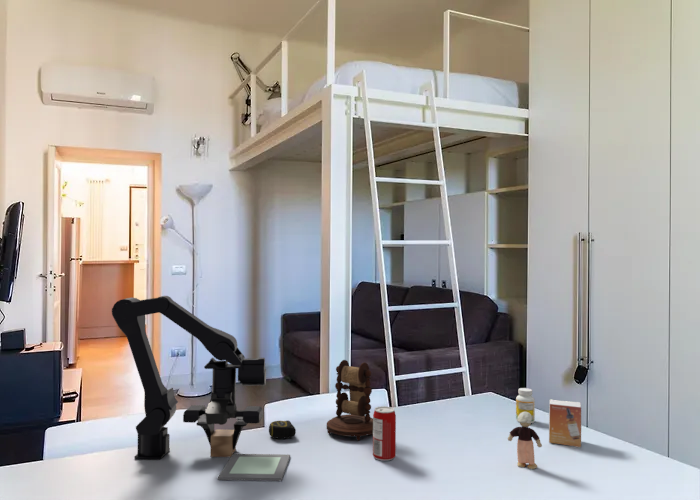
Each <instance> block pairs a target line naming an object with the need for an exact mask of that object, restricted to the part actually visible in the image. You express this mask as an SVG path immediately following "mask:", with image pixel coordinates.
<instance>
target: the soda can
mask: <svg viewBox="0 0 700 500" xmlns="http://www.w3.org/2000/svg"><path fill="white" fill-rule="evenodd" d="M372 418H373V434H372V456H373V457H374V458H375V459H376V460H377V461H381V462H384V461H385V462H388V461H391V460H393V459H394V458H395V457H396V454H397V453H396V452H397V451H396V447H397V446H396V445H397V442H396V441H397V440H396V439H397V437H396V436H397V435H396V433H397V432H396V431H397V427H396V426H397V425H396V424H397V416H396V411H395V408H394V407H392V406H377V407H374V411H373V413H372Z"/></svg>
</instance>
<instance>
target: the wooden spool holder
mask: <svg viewBox="0 0 700 500" xmlns="http://www.w3.org/2000/svg"><path fill="white" fill-rule="evenodd" d="M335 371H336V372H337V373H336V375H337V377H336V383H335V384H334V387H335V390H336V391H337V393H336V398H337V399H335V404H336V411H335V414H336V416H335V417H332V418H331V419H329V420H327V422H326V430H327V434H328V433H329V434H328V435H331V434H334V435H338V436H343V437H344V436H345V437H355V439H356V440H357V442H359V441H360V440H361V437H363V436H369V435H373V417H371V415H370V413H371V411H370V410H371V409H372V405H371V404H370V403H371V397H370V396H371V394H372V392H373V389H372V387H371V386H372V384H371V376H372V371H371V370H370V367H369V365H368V363H367V362H365V361H364V362H362V363H361V364H360V365H359V367H358V366H351V365H350V364H349V362H348V360H347V359H343V360H341V362H340V363H339V364H338V366H336V368H335ZM345 383H346V384H345ZM342 390H348V391H349V395H348V393H347V392H344V391H343V392H341V391H342ZM342 413H344V414H342ZM330 433H331V434H330Z"/></svg>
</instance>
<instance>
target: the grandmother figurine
mask: <svg viewBox="0 0 700 500" xmlns="http://www.w3.org/2000/svg"><path fill="white" fill-rule="evenodd" d="M517 419H518V420H516V422H517V423H519V425H520V426H516V427H515V428H513V429H512V430H511V431H509V435H508V437H507V440H508V441H509V442H512V440H513V438H515V437H518V438H517V440H516V441H517V443H516V444H517V445H516V455H517V461H518V462H517V467H518V468H525V467H527V469H530V470H535V469H538V465H537V464H536V463H535V459H536V458H535V449H534V446H535V445H534V441H535V443H536V445H537V447H538V448H542V447H543V445H542V442H541V440H540V436H539V435H538V433H537V432H536V431H535V430H534V429H533V428H531V427H530V426H531V420H532V417H531V414H530V413H529V412H522V413H520V414H519V416H518V418H517ZM533 440H534V441H533Z"/></svg>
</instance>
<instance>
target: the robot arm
mask: <svg viewBox="0 0 700 500" xmlns="http://www.w3.org/2000/svg"><path fill="white" fill-rule="evenodd" d="M157 313H158V314H161V315H163V316H164V317H166V318H167V319H168V320H170V321H171V322H173V323H174V324H175V325H177V326H179V327H180V328H181V329H183V330H184V331H185V332H187V333H189V334H190V335H192V337H195V338H196V339H197V340H198V341H199V342H200V343H201V344H202V346H203V347H204V348H205V350H207V352H209V353H210V355H212V357H211V358H210V359H209V361H208V362H207V363H206V364H205V365H204V369H205V370H212V378H211V379H212V380H211V381H212V385H211V386H212V388H211V391H212V392H211V393H210V394H211V395H210V401H209V402H208V404H207V407H206V406H205V405H201V404H199V405H198V404H197V405H196V404H194V405H192V404H191V405H190V406H188V408H187V409H185V411H184V412H183V415H182V416H183V417H182V422H183V423H192V424H193V423H196V426H199V427H201V429H202V430H204V433H205V435H206V438H207V441H208V443H209V446H210V448H211V435H212V434H213V433H214V432H215V431H216V430H215V425H220V426H224V425H225V424H227V423H228V419H229V420H230V418H231V419H235V420H236V421H235V422H234V424H233V430H234V436H233V449H235V448H237V445H238V442H239V439H240V436H241V433H242V430H243V428H244V427H247V425H248V424H259V423H260V422H261V420H262V419H263V417H264V409H263V407H262V406H261V405H247V406H246V407H245V408H244V409H243V410H242V409H237V403H236V401H237V399H236V398H237V395H236V394H237V386H236V385H237V381H238V382H239V384H242V385H241V386H242V387H243V386H244V387H245V386H246V387H247V386H253V387H254V386H266V385H267V384H266V382H267V369H266V358H265V357H257V358H246V357H245V355H244V354H243V353H242V351H241V350H240V349H239V347H238V340H237V339H236V337H235V336H234V335H231V334H230V333H228V332H225V331H223V330H221V329H218V328H216V327H214V326H211V325H209V324H208V323H206V322H204V321H203V320H202V319H200V318H199V317H197V316H196V315H194V314H193V313H191V311H189V310H188V309H186V308H184V307H183V306H182V305H180V304H179V303H177V302H176V301H174V300H173V298H172V297H171V296H168V295H162V296H161V295H160V296H158V297H153V298H145V299H141V300H140V299H139V298H137V297H127V298H123V299H119V300H118V301H116V302H115V303H114V304H113V306H112V307H111V316H112V317H113V319H114V321H115V323H116V326H117V327H118V328H119V330H120V331H121V332H122V333H123V334H124V335H125V337H126V339H127V341H128V345H129V348H130V351H131V355H132V356H133V357H132V358H133V360H134V361H133V362H134V364H135V365H136V367H135V368H136V369H137V373H138V375H139V376H138V377H139V379H140V381H141V382H140V383H141V385H142V388H143V391H144V401H143V402H144V404H143V407H144V414H145V417H144V418H143V419H141V420H140V422H139V423H138V424H137V425H135V431H136V432H137V454H135V456H134V457H133V458H134V460H136V459H138V460H143V459H144V460H161V459H162V458H163V457H165V455H167V453H169V452H170V451H171V449H170V448H171V447H170V436H171V435H170V434H169V432H168V427H166V425H167V424H168V423H169V421H170V420H171V419H172V418H173V416H174V415H175V413H176V411H177V405H178V403H179V401H178V400H177V399H176V395H175V390H174V387H171V388H169V389H168V388H167V387H166V386H165V385H164V383H163V382H162V378H161V375H160V372H159V369H158V366H157V363H156V359H155V357H154V354H153V350H152V347H151V345H150V341H149V338H148V335H147V332H146V319H147V318H146V316H147V315H152V314H157Z"/></svg>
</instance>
